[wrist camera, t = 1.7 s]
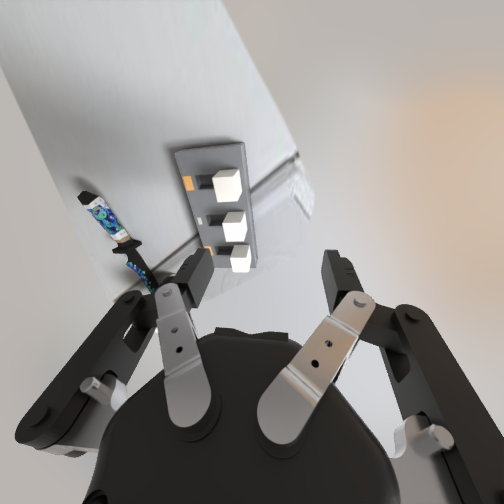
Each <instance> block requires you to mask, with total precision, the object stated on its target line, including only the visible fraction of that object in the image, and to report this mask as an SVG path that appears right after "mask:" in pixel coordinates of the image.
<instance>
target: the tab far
mask: <svg viewBox="0 0 504 504" xmlns="http://www.w3.org/2000/svg"><path fill="white" fill-rule="evenodd" d="M251 259H252V258H251V251H250V245H234V248H233V251H232V253H231V256H230V260H231V265H232V269H233V272H249V268H250V264H251Z"/></svg>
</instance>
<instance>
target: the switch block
mask: <svg viewBox="0 0 504 504" xmlns="http://www.w3.org/2000/svg"><path fill="white" fill-rule="evenodd" d="M174 155H175V158H176V161H177V165H178V168H179V171H180V174H181V177H182V181H183V184H184V187H185V190H186V193H187V196H188V200H189V203H190V206H191V209H192V212H193V215H194V219H195V222H196V225H197V228H198V231H199V235H200V238H201V241H202V244H203V247H204V248H209V249H210V252H211V256H212V260H213V263H214V268H232V265H231V260H230V256H231V253H232V251H233V248H234V245H250V251H251V258H252V259H251V264H250V268H256V265H257V259H258V256H257V247H256V238H255V230H254V221H253V212H252V203H251V195H250V186H249V177H248V168H247V160H246V151H245V143H236V144H227V145H217V146H208V147H198V148H189V149H182V150H180V151H178V152H175V153H174ZM229 169H239V172H240V179H241V186H242V193H241V195H240V197H239V199H238V201H233V202H217V198H216V193H215V189H214V184H213V180H212V178H213V177H214V176H215V175H216V174H217V173H218V172H219V171H220V170H229ZM243 211H245V215H246V222H247V232H246V236H245V239H244V241H234V242H226V238H225V234H224V229H223V225H222V223H223V221H224V219H225V217H226V215H227V213H228V212H243Z"/></svg>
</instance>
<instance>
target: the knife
mask: <svg viewBox="0 0 504 504" xmlns="http://www.w3.org/2000/svg"><path fill="white" fill-rule="evenodd" d="M77 198H78V199H79V201H80V202H81V203H82V205H83V206H84V207H85V208H86V209H87V210H88V211H89V212H90V214H91V215H92V216H93V217H94V218H95V219H96V220H97V221H98V222H99V223H100V224H101V226H102V227H103V228H104V229H105V230H106V231H107V232H108V233H109V234H110V235H111V237H112V238H113V239H114V240H115V241H116V242H117V244H118V247H117V248H115V249H113V250H112V251H113V253H118V254H127V256H128V262H127V264H126V265H127V266H129V267H130V268H132V269H133V270H134V271H135V272H136V273H137V274H138V275H139V276H140V278H141V279H142V280H143V282H144V283H145V285H146V286H147V288H148V289H149V291H150V292H151V294H152V293H154V291H155V290H156V289H157V288H158V287H159V285H158V283H157V281H156V279H155V278H154V276H153V274H152V273H151V271H150V270H149V268H148V267H147V265H146V264H145V262H144V260H143V259H142V258H141V256H140V255H139V254H138V252H137V251H136V249H135V248H137V247H139V246H140V245H142V243H141V241H133V240H132V239H131V238H130V237H129V235H128V234H127V232H126V231H125V230H124V228H123V227H122V225H121V224H120V223H119V221H118V220H117V218H116V217H115V215H114V214H113V213H112V211H111V210H110V208H109V207H108V206H107V204H106V203H105V201H104V200H103V198H101V197H99V196H97V195H95V194H92V193H90V192H87V191H82V192H81V193H80V195H79V196H78V197H77Z"/></svg>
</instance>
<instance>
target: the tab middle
mask: <svg viewBox="0 0 504 504" xmlns="http://www.w3.org/2000/svg"><path fill="white" fill-rule="evenodd" d="M222 225H223V229H224V234H225V238H226V242H234V241H244V239H245V236H246V232H247V222H246V215H245V211H243V212H228V213H227V215H226V217H225V219H224V221H223V223H222Z"/></svg>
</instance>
